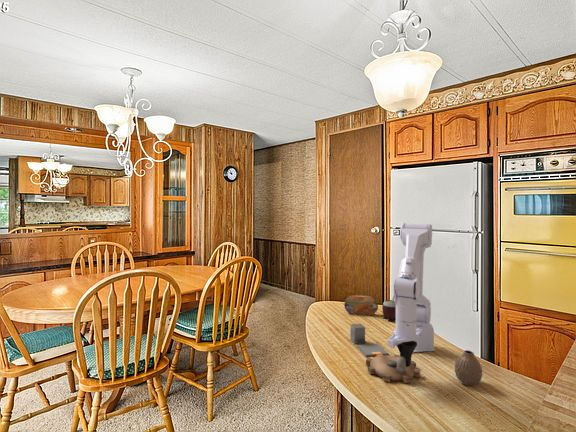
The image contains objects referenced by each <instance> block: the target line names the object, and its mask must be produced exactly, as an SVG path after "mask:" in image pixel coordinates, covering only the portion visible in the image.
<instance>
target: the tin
mask: <svg viewBox="0 0 576 432" xmlns="http://www.w3.org/2000/svg"><path fill="white" fill-rule="evenodd" d="M343 307H344V309H345V311H346V312H347V313H348V314H349V315H354V314H360V315H361V316H372V315H374V314H376V313H377V311H378V310H379V304H378V301H377V300H376V299H375V298H374V297H372V296H370V295H349V296H348V297H347V298H346V299H345V300H344V306H343ZM360 315H359V316H360Z"/></svg>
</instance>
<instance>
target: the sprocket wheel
mask: <svg viewBox="0 0 576 432" xmlns="http://www.w3.org/2000/svg"><path fill="white" fill-rule="evenodd" d="M365 365H367V373H369V374H370V375H374V374H375V375H376V376H378V377H380V378H382V381H385V382H388V383H389V382H390V381H401V382H403V383H405V384H407V383H411V382H412V379H413V378H414V377H416V378H420V376H421V369H418V368H417V363H416V362H415V361H414V360H411V364H410V366H408V367H406V358H404V357H400V354H393V355H382V354H376V356H373V357H372V358H369V357H366V359H365Z"/></svg>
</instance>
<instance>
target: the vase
mask: <svg viewBox="0 0 576 432" xmlns="http://www.w3.org/2000/svg"><path fill="white" fill-rule="evenodd" d="M455 360H456V361H455V363H454V374H455V376H456V378H457V379H458V381H459V382H460V383H461V384H463V385H465V386H469V387H474V386H476V385H478V384H479V383H480V382H481V380H482V378H483V369H482V364H481V363H480V361H479V360H478V358H477V357H476V355H475V353H474V352H473V351H472V350H468V349H467V350H463V352H462V353H461V355H459V356H458V357H457V358H456V359H455Z"/></svg>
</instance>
